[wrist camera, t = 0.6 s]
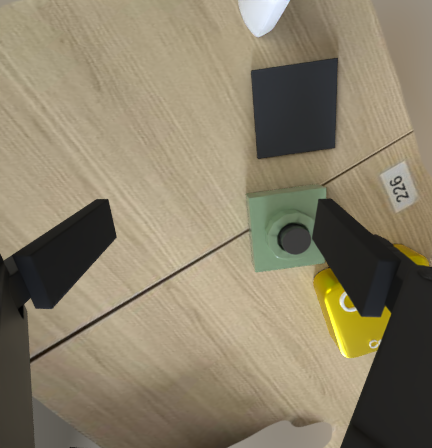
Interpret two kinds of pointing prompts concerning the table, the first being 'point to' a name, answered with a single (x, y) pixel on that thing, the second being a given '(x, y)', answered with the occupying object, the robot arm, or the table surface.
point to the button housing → (282, 225)
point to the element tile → (353, 313)
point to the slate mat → (295, 107)
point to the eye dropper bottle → (261, 14)
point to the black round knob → (294, 239)
